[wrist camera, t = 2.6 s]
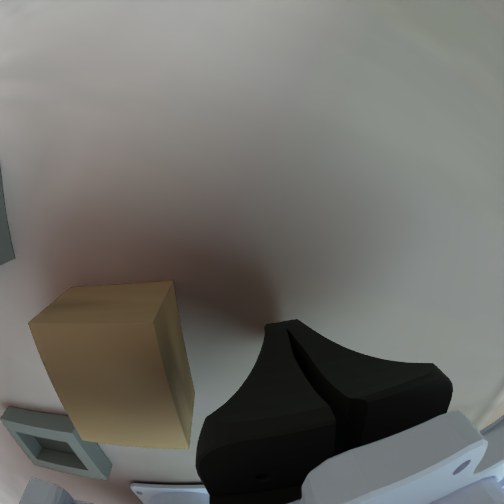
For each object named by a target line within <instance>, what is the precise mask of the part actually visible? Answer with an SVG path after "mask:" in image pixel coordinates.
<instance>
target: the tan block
mask: <svg viewBox="0 0 504 504" xmlns="http://www.w3.org/2000/svg"><path fill="white" fill-rule="evenodd" d="M28 324H29V327H30V330H31V333H32V336H33V338H34V341H35V344H36V346H37V349H38V352H39V354H40V357H41V359H42V362H43V364H44V366H45V369H46V371H47V373H48V376H49V378H50V380H51V382H52V384H53V386H54V389H55V391H56V393H57V395H58V397H59V399H60V401H61V403H62V405H63V407H64V409H65V410H66V412H67V414H68V416H69V418H70V420H71V421H72V423H73V425H74V427H75V428H76V430H77V432H78V434H79V435H80V437H81V439H82V440H84V441H90V442H96V443H103V444H111V445H120V446H130V447H143V448H162V449H189V446H190V436H191V426H192V416H193V406H194V397H195V390H194V386H193V381H192V377H191V372H190V368H189V363H188V359H187V354H186V349H185V344H184V339H183V334H182V329H181V323H180V318H179V312H178V306H177V301H176V295H175V288H174V282H173V280H169V281H156V282H142V283H128V284H114V285H99V286H82V287H71V288H70V289H69V290H67V291H66V292H65V293H64V294H62V295H61V296H60V297H59V298H57V299H56V300H55V301H54V302H52V303H51V304H50V305H49V306H48V307H46V308H45V309H44V310H43V311H42V312H40V313H39V314H38V315H37V316H36V317H34V318H33V319H32V320H31V321H30V322H28Z"/></svg>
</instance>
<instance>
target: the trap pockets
mask: <svg viewBox="0 0 504 504" xmlns="http://www.w3.org/2000/svg"><path fill="white" fill-rule="evenodd" d="M14 258H15V256H14V252H13V247H12V243H11V238H10V233H9V228H8V223H7V217H6V211H5V204H4V197H3V189H2V180H1V169H0V265H2V264H4V263H6V262H8V261H10V260H12V259H14ZM0 420H1V421H2V422H3V424H4V425H5V427H6V428H7V430H8V431H9V433H10V434H11V435H12V437H13V438H14V439H15V441H16V442H17V443H18V445H19V446H20V447H21V449H22V450H23V451H24V452H25V454H26V455H27V456H28V457H29V459H30V460H31V461H32V462H33V463H34V464H35V465H37V466H41V467H44V468H48V469H52V470H56V471H60V472H65V473H69V474H74V475H79V476H84V477H90V478H96V479H102V480H108V477H109V474H110V471H111V468H112V464H111V463H110V461H109V460H108V459H107V457H106V456H105V454H104V453H103V451H102V450H101V449H100V447H99V446H98V444H97V443H96V442H90V441H84V440H82V439H81V437H80V435H79V434H78V432H77V430H76V428H75V427H74V425H73V423H72V421H71V420H70V418H69V416H65V415H56V414H49V413H42V412H36V411H30V410H24V409H19V408H14V407H8V408H7V410H6V411H5V412H4V414H3V415H2V416H1V418H0Z"/></svg>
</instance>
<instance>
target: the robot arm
mask: <svg viewBox="0 0 504 504" xmlns="http://www.w3.org/2000/svg"><path fill="white" fill-rule="evenodd" d="M264 328H265V337H264V341H263V345H262V348H261V351H260V354H259V356H258V359H257V361H256V363H255V365H254V367H253V369H252V371H251V373H250V374H249V376H248V377H247V379H246V380H245V382H244V383H243V384H242V386H241V387H240V388H239V390H238V391H237V392H236V393H235V394H234V395H233V396H232V397H231V398H230V399H229V400H228V401H227V402H226V403H225V404H224V405H222V406H221V407H220V408H218V409H217V410H216V411H214V412H213V413H212V414H210V415H209V416H207V417H206V419H205V421H204V424H203V427H202V429H201V433H200V436H199V440H198V444H197V451H196V469H197V473H198V475H199V477H200V479H201V481H202V483H203V485H158V484H141V483H132V484H131V487H130V488H131V490H132V491H133V492H134V493H135V494H136V495H137V497H138V498H139V499H140V500H141V501H142V502H143V503H144V504H504V415H503V416H502V417H501V418H499V419H498V420H496V421H495V422H493V423H492V424H490V425H489V426H487V427H486V428H484V429H483V430H481V431H479V430H478V429H477V428H476V427H475V426H474V425H473V424H472V422H471V421H470V420H469V419H468V418H467V417H466V416H465V415H464V414H463V413H461V412H460V411H458V410H457V411H452V412H449V413H446V412H447V410H448V407H449V404H450V401H451V397H452V392H453V386H452V383H451V381H450V380H449V378H448V377H447V376H446V375H445V374H444V373H443V372H442V371H441V370H440V369H439V368H438V367H437V366H435V365H434V364H433V363H405V362H397V361H390V360H384V359H379V358H375V357H371V356H367V355H364V354H361V353H358V352H355V351H353V350H350V349H347V348H345V347H343V346H341V345H339V344H337V343H335V342H333V341H331V340H329V339H327V338H325V337H324V336H322V335H320V334H319V333H317V332H315V331H314V330H312V329H311V328H309V327H308V326H306V325H305V324H304V323H302V322H301V321H299V320H298V319H295V320H289V321H283V322H277V323H271V324H267V325H266V326H265V327H264ZM19 504H92V503H87V502H83V501H78V500H74V499H73V498H72V497H71V495H70V494H69V493H68V492H67V491H66V490H64V489H63V488H62V487H60V486H58V485H56V484H53V483H49V482H46V481H43V480H39V479H36V478H31V479H30V481H29V483H28V485H27V487H26V489H25V492H24V494H23V496H22V498H21V500H20V503H19Z"/></svg>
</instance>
